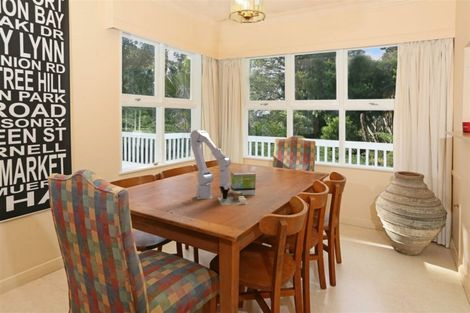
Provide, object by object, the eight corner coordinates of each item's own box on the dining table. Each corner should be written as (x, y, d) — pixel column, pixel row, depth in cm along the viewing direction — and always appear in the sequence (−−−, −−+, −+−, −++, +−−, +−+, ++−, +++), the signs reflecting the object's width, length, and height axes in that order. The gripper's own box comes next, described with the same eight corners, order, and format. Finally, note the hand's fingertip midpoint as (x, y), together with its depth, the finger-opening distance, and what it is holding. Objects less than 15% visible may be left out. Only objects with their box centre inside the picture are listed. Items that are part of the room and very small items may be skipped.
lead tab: (222, 200, 195) (222, 192, 195) (221, 199, 198) (221, 191, 198) (227, 200, 196) (227, 192, 195) (226, 199, 199) (226, 191, 198)
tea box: (234, 196, 208) (234, 174, 206) (230, 193, 218) (230, 172, 216) (255, 195, 212) (255, 173, 210) (250, 191, 222) (251, 171, 220)
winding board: (221, 205, 186) (221, 196, 185) (217, 198, 203) (217, 189, 203) (247, 204, 189) (247, 195, 188) (241, 197, 206) (241, 188, 205)
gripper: (232, 178, 189) (232, 201, 190) (228, 174, 203) (228, 195, 205) (221, 179, 188) (221, 201, 189) (218, 174, 202) (218, 195, 203)
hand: (224, 198), depth 197 cm, fingers closed on lead tab, 3 cm apart
